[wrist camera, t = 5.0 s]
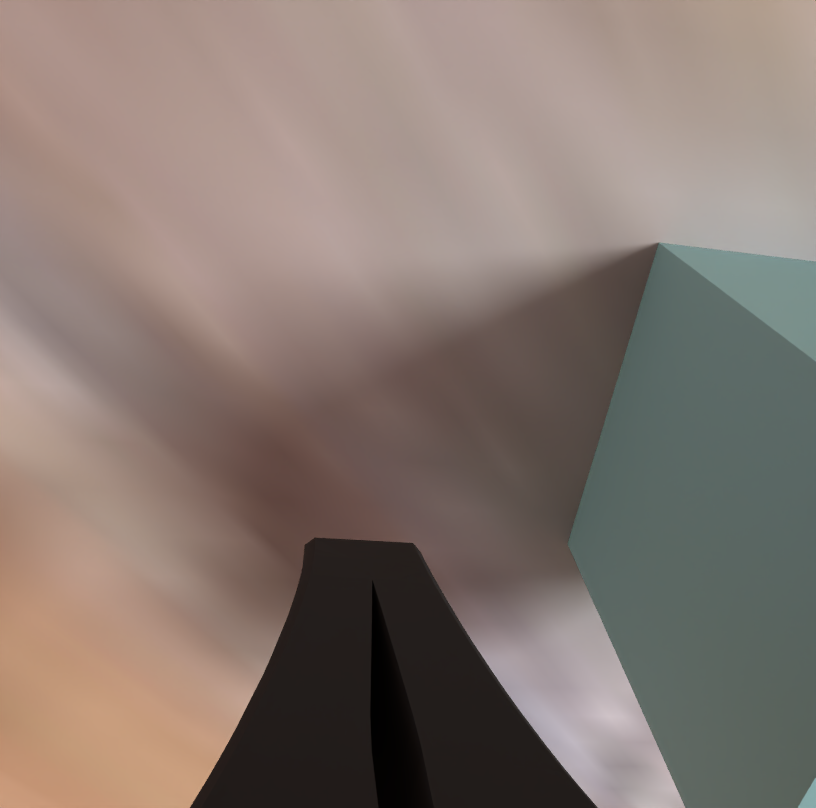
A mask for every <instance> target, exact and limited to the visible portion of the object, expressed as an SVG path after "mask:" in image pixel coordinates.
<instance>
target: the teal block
mask: <svg viewBox="0 0 816 808" xmlns="http://www.w3.org/2000/svg"><path fill="white" fill-rule="evenodd" d="M568 546H569V548H570V551H571V553H572V555H573V557H574V560H575V562H576V564H577V566H578V569H579V571H580V573H581V575H582V577H583V580H584V582H585V584H586V586H587V589H588V591H589V593H590V595H591V598H592V600H593V602H594V604H595V607H596V609H597V611H598V613H599V615H600V618H601V620H602V622H603V624H604V627H605V629H606V631H607V633H608V636H609V638H610V640H611V642H612V645H613V647H614V649H615V651H616V653H617V656H618V658H619V660H620V662H621V665H622V667H623V669H624V671H625V674H626V676H627V678H628V680H629V683H630V685H631V687H632V689H633V691H634V694H635V696H636V698H637V700H638V703H639V705H640V707H641V709H642V712H643V714H644V716H645V718H646V721H647V723H648V725H649V727H650V729H651V732H652V734H653V736H654V738H655V741H656V743H657V745H658V747H659V750H660V752H661V754H662V756H663V758H664V761H665V763H666V765H667V767H668V770H669V772H670V774H671V776H672V779H673V781H674V783H675V785H676V788H677V790H678V792H679V794H680V796H681V799H682V801H683V803H684V805H685V808H816V262H813V261H805V260H797V259H789V258H780V257H772V256H764V255H756V254H748V253H740V252H731V251H723V250H715V249H707V248H699V247H690V246H682V245H674V244H666V243H659V244H658V247H657V251H656V254H655V257H654V260H653V264H652V267H651V270H650V274H649V277H648V280H647V283H646V287H645V290H644V293H643V297H642V300H641V303H640V307H639V310H638V313H637V316H636V320H635V323H634V326H633V330H632V333H631V336H630V340H629V343H628V346H627V349H626V353H625V356H624V359H623V363H622V366H621V369H620V373H619V376H618V379H617V382H616V386H615V389H614V392H613V396H612V399H611V402H610V405H609V409H608V412H607V415H606V419H605V422H604V425H603V429H602V432H601V435H600V438H599V442H598V445H597V448H596V452H595V455H594V458H593V462H592V465H591V468H590V471H589V475H588V478H587V481H586V485H585V488H584V491H583V494H582V498H581V501H580V504H579V508H578V511H577V514H576V518H575V521H574V524H573V527H572V531H571V534H570V537H569V541H568Z"/></svg>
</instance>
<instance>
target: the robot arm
mask: <svg viewBox="0 0 816 808" xmlns="http://www.w3.org/2000/svg"><path fill="white" fill-rule="evenodd" d="M190 808H597V806H596V805H595V804H594V803H593V802H592V801H591V799H590V798H589V797H588V796H587V795H586V794H585V793H584V791H583V790H582V789H581V788H580V787H579V786H578V784H577V783H576V782H575V781H574V780H573V778H572V777H571V776H570V775H569V774H568V772H567V771H566V770H565V769H564V768H563V766H562V765H561V764H560V763H559V761H558V760H557V759H556V758H555V756H554V755H553V754H552V753H551V751H550V750H549V749H548V747H547V746H546V745H545V744H544V742H543V741H542V740H541V738H540V737H539V736H538V734H537V733H536V732H535V730H534V729H533V728H532V726H531V725H530V724H529V722H528V721H527V720H526V718H525V717H524V716H523V715H522V713H521V712H520V711H519V709H518V708H517V706H516V705H515V704H514V702H513V701H512V699H511V698H510V697H509V695H508V694H507V692H506V691H505V690H504V688H503V687H502V685H501V684H500V683H499V681H498V680H497V678H496V677H495V675H494V674H493V672H492V671H491V669H490V668H489V666H488V665H487V663H486V662H485V660H484V659H483V657H482V656H481V654H480V653H479V651H478V650H477V648H476V647H475V645H474V644H473V642H472V640H471V639H470V637H469V636H468V634H467V633H466V631H465V629H464V628H463V626H462V625H461V623H460V621H459V620H458V618H457V616H456V615H455V613H454V611H453V610H452V608H451V606H450V605H449V603H448V601H447V600H446V598H445V596H444V594H443V593H442V591H441V589H440V587H439V586H438V584H437V582H436V580H435V579H434V577H433V575H432V573H431V571H430V569H429V568H428V566H427V564H426V562H425V560H424V558H423V556H422V554H421V552H420V551H419V550H418V548H417V547H416V546H415V545H414V544H413V543H401V542H383V541H365V540H346V539H328V538H314V539H313V540H311V541H310V542H308V543H307V544H305V549H304V558H303V568H302V573H301V577H300V581H299V584H298V588H297V591H296V594H295V597H294V600H293V603H292V606H291V609H290V612H289V615H288V617H287V620H286V622H285V625H284V627H283V630H282V632H281V634H280V637H279V639H278V642H277V644H276V646H275V649H274V651H273V654H272V656H271V658H270V661H269V663H268V665H267V667H266V670H265V672H264V674H263V676H262V678H261V680H260V682H259V684H258V686H257V688H256V690H255V692H254V694H253V696H252V698H251V700H250V702H249V704H248V706H247V708H246V710H245V712H244V714H243V716H242V718H241V720H240V722H239V724H238V726H237V728H236V730H235V731H234V733H233V735H232V737H231V739H230V740H229V742H228V744H227V746H226V748H225V749H224V751H223V753H222V755H221V757H220V758H219V760H218V762H217V764H216V765H215V767H214V769H213V770H212V772H211V774H210V776H209V777H208V779H207V781H206V782H205V784H204V786H203V787H202V789H201V790H200V792H199V794H198V795H197V797H196V799H195V800H194V802H193V804H192V805H191V807H190Z"/></svg>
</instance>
